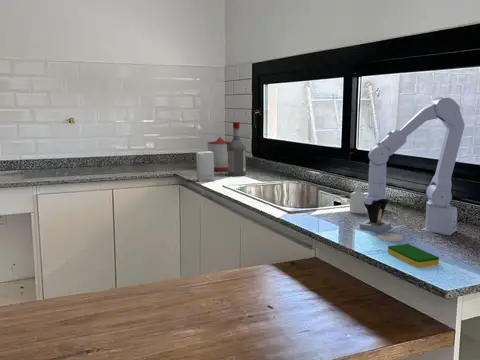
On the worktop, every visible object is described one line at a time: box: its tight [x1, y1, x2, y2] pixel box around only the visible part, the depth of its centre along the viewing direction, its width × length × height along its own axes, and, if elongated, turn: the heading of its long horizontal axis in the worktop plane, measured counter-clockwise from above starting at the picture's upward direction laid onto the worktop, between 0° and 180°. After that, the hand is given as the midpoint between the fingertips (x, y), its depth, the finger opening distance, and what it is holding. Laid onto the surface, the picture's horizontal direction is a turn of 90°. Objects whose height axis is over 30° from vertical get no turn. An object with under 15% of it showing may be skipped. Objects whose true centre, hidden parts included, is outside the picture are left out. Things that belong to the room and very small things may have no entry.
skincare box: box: [195, 150, 215, 183], centre depth 269 cm, size 8×7×16 cm
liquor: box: [227, 121, 247, 178], centre depth 284 cm, size 9×9×30 cm
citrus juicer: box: [207, 136, 231, 172], centre depth 306 cm, size 16×17×20 cm
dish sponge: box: [387, 243, 440, 268], centre depth 142 cm, size 7×14×2 cm, turn 18°
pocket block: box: [353, 219, 398, 234], centre depth 172 cm, size 12×10×2 cm
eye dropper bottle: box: [349, 182, 366, 214], centre depth 194 cm, size 4×6×12 cm
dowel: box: [370, 208, 382, 226], centre depth 172 cm, size 4×4×6 cm
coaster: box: [376, 232, 404, 242], centre depth 160 cm, size 8×8×1 cm
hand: (375, 221), depth 172 cm, fingers closed on dowel, 4 cm apart
